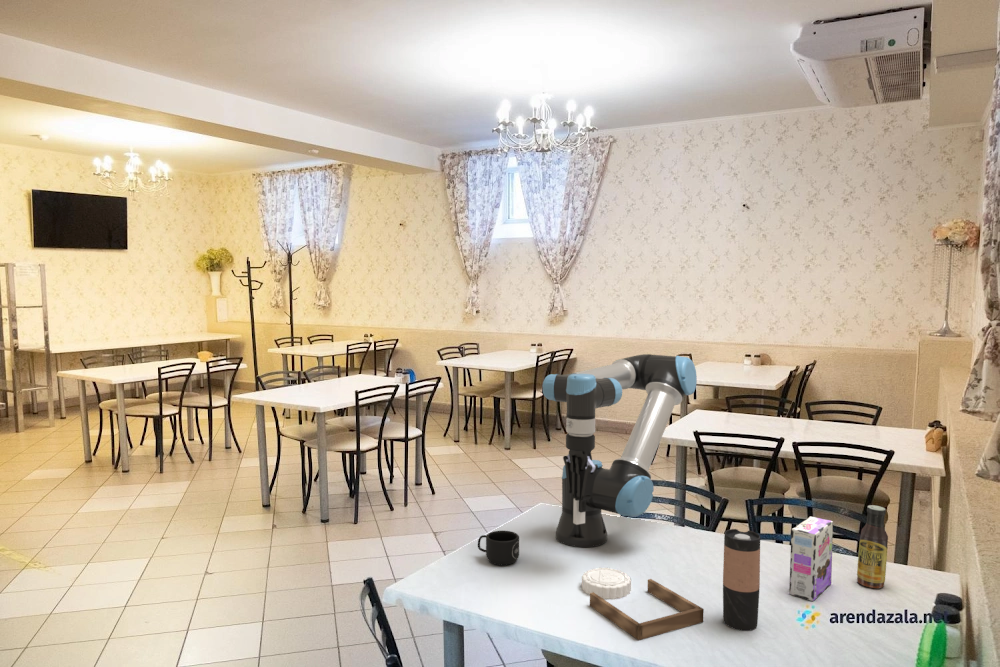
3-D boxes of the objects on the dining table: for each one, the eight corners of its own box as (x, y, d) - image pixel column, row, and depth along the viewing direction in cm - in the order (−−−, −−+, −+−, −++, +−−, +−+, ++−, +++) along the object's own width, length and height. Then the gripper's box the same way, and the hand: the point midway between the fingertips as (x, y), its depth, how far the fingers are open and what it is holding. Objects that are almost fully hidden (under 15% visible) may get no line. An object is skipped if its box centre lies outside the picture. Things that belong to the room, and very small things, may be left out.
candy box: (813, 602, 163) (815, 534, 162) (788, 594, 167) (790, 528, 166) (832, 584, 173) (834, 520, 172) (807, 577, 177) (809, 514, 176)
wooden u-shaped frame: (589, 605, 160) (589, 593, 160) (650, 590, 168) (650, 578, 168) (638, 640, 144) (638, 626, 144) (703, 622, 152) (703, 608, 152)
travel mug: (739, 634, 147) (741, 542, 146) (714, 618, 154) (716, 531, 153) (766, 627, 150) (768, 537, 149) (741, 612, 157) (743, 526, 156)
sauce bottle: (853, 584, 172) (856, 507, 171) (860, 577, 177) (863, 501, 176) (882, 592, 168) (885, 512, 167) (889, 584, 172) (892, 507, 171)
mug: (524, 558, 189) (524, 533, 189) (511, 570, 181) (511, 543, 180) (484, 551, 194) (485, 526, 194) (470, 562, 186) (470, 537, 185)
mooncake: (631, 602, 163) (631, 587, 163) (580, 598, 165) (580, 583, 165) (630, 581, 175) (630, 567, 174) (583, 577, 177) (583, 564, 177)
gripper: (554, 430, 182) (553, 517, 184) (582, 439, 171) (581, 532, 172) (578, 428, 186) (577, 514, 187) (607, 437, 174) (605, 528, 175)
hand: (579, 523), depth 179 cm, fingers closed
